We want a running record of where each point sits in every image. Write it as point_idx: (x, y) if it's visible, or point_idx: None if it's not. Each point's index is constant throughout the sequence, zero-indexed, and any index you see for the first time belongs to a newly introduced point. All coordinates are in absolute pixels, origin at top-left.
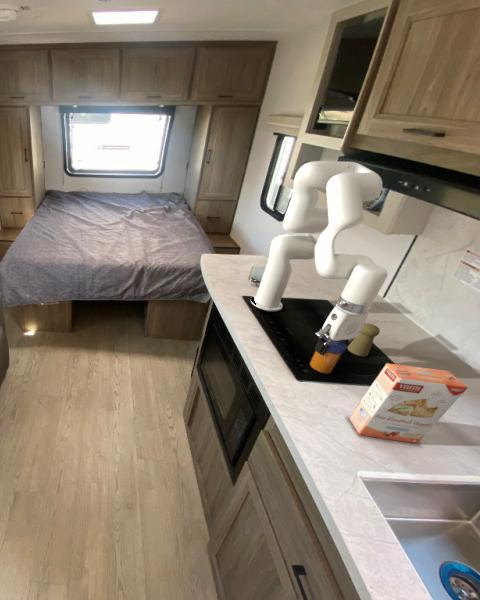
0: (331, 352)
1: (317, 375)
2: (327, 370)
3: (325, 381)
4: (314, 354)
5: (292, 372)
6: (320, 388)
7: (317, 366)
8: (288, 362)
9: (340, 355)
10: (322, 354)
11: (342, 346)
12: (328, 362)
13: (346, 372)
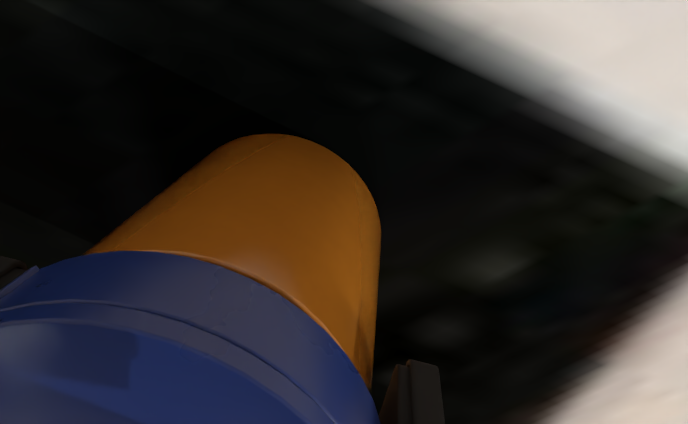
0: (348, 358)
1: (448, 169)
2: (323, 161)
3: (468, 69)
4: None
5: (646, 306)
6: (653, 18)
7: (378, 249)
8: (521, 401)
9: (152, 231)
10: (439, 380)
11: (40, 393)
12: (338, 227)
13: (88, 59)
